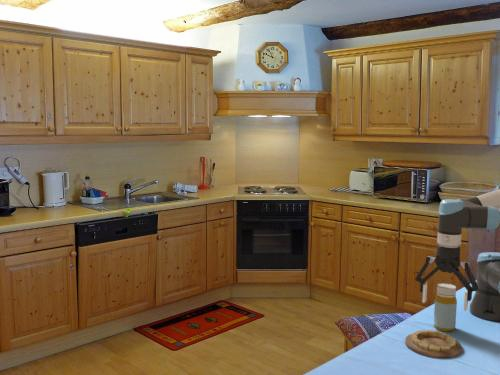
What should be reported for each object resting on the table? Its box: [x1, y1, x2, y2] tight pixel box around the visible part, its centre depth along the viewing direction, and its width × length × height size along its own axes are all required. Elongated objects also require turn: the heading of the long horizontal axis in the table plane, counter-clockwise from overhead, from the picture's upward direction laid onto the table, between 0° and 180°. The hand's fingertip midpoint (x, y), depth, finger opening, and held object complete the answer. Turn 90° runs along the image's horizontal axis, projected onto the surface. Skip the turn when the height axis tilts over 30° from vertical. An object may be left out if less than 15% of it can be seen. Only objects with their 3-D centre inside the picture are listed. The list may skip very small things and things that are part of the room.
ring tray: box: [404, 329, 463, 359], centre depth 168 cm, size 17×17×2 cm
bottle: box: [433, 283, 458, 332], centre depth 181 cm, size 7×7×15 cm
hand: (444, 305), depth 181 cm, fingers open, 13 cm apart
